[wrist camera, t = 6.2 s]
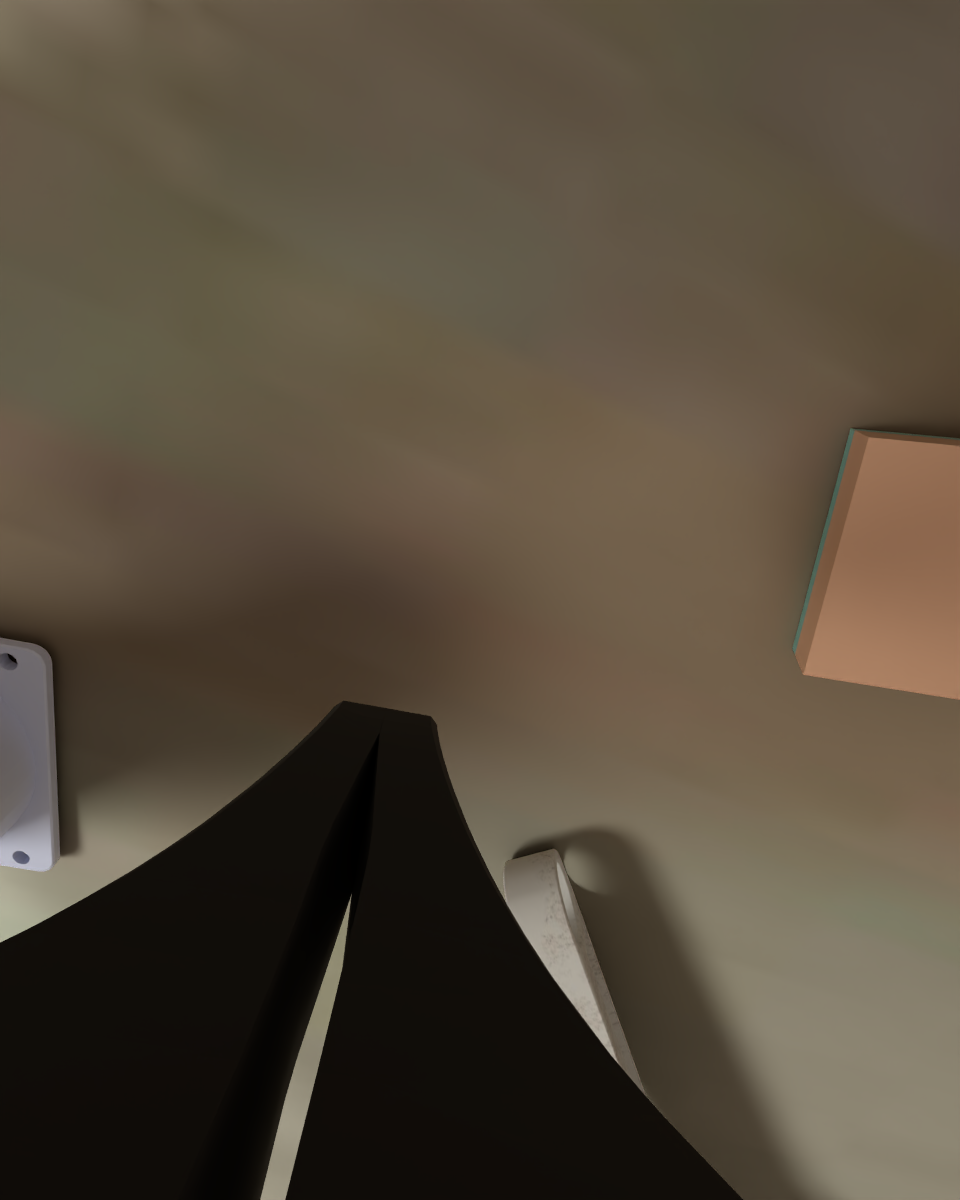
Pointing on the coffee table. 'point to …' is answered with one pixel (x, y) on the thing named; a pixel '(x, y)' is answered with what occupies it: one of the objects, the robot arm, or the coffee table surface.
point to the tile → (888, 568)
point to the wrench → (565, 945)
